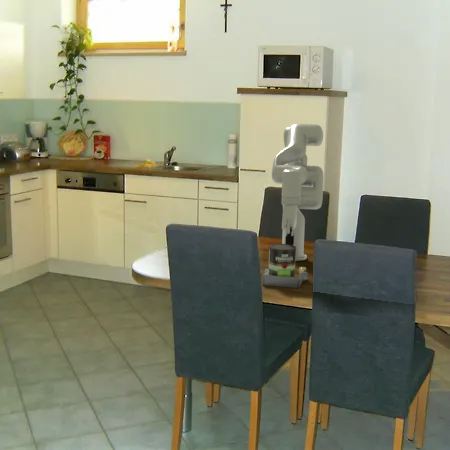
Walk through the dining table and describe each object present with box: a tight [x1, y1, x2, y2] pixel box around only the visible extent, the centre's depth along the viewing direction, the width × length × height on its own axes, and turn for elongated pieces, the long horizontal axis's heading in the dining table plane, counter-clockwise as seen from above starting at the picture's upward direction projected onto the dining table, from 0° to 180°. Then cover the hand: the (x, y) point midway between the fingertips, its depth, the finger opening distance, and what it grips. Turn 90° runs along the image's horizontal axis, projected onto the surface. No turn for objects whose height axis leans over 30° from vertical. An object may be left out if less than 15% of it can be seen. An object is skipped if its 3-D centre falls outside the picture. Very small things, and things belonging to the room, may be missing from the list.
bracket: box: [261, 268, 308, 289], centre depth 265 cm, size 13×17×4 cm
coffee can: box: [268, 243, 296, 277], centre depth 263 cm, size 10×10×14 cm
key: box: [298, 266, 307, 275], centre depth 280 cm, size 7×3×1 cm, turn 166°
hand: (289, 244), depth 277 cm, fingers closed
